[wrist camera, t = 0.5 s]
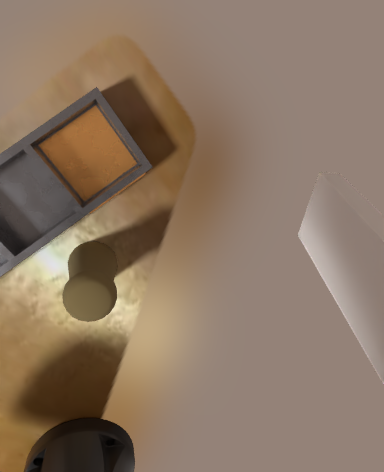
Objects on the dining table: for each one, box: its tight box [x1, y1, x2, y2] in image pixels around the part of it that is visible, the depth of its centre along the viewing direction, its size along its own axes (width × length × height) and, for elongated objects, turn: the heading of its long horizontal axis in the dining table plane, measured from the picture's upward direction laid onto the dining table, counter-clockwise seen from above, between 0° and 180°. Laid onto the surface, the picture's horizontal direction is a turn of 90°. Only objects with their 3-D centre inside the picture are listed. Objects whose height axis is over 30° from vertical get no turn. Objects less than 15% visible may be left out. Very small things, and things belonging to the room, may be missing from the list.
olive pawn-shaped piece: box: [63, 242, 118, 322], centre depth 36 cm, size 6×6×11 cm
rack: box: [0, 87, 152, 277], centre depth 36 cm, size 27×10×4 cm, turn 124°
